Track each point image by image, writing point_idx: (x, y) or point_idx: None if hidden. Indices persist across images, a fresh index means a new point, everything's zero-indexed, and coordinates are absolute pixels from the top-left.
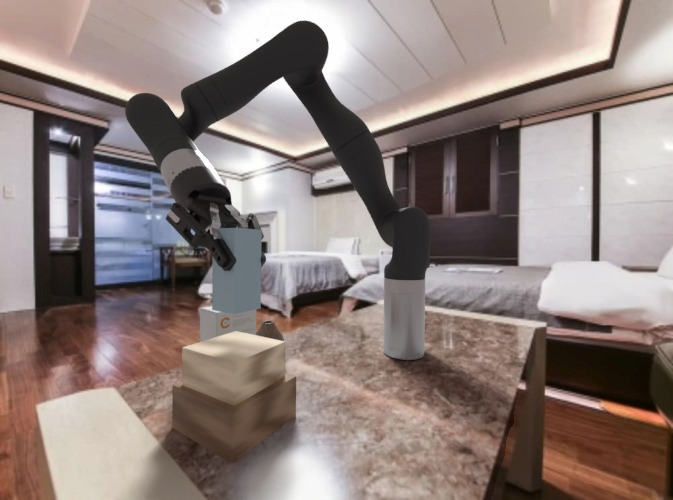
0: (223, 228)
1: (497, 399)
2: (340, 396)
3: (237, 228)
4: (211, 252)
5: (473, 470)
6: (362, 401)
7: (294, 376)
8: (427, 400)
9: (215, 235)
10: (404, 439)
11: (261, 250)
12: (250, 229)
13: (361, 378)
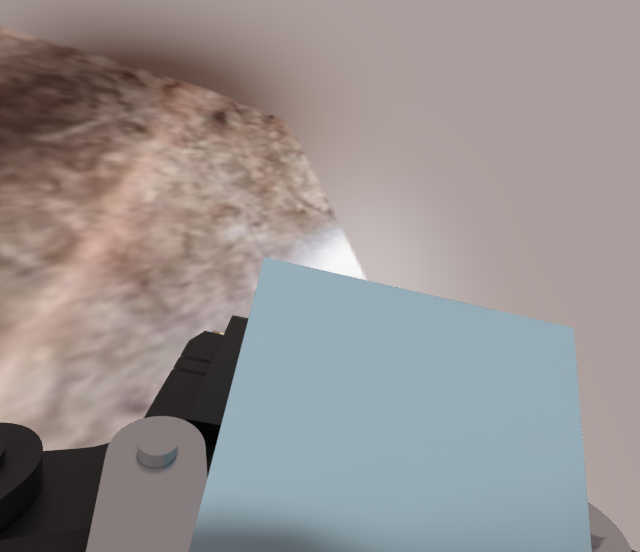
0: (586, 503)
1: (61, 57)
2: (120, 297)
3: (540, 324)
4: None
5: (253, 115)
6: (129, 252)
7: (217, 333)
8: (94, 151)
9: (601, 526)
10: (223, 180)
11: (173, 373)
12: (403, 289)
13: (14, 278)
